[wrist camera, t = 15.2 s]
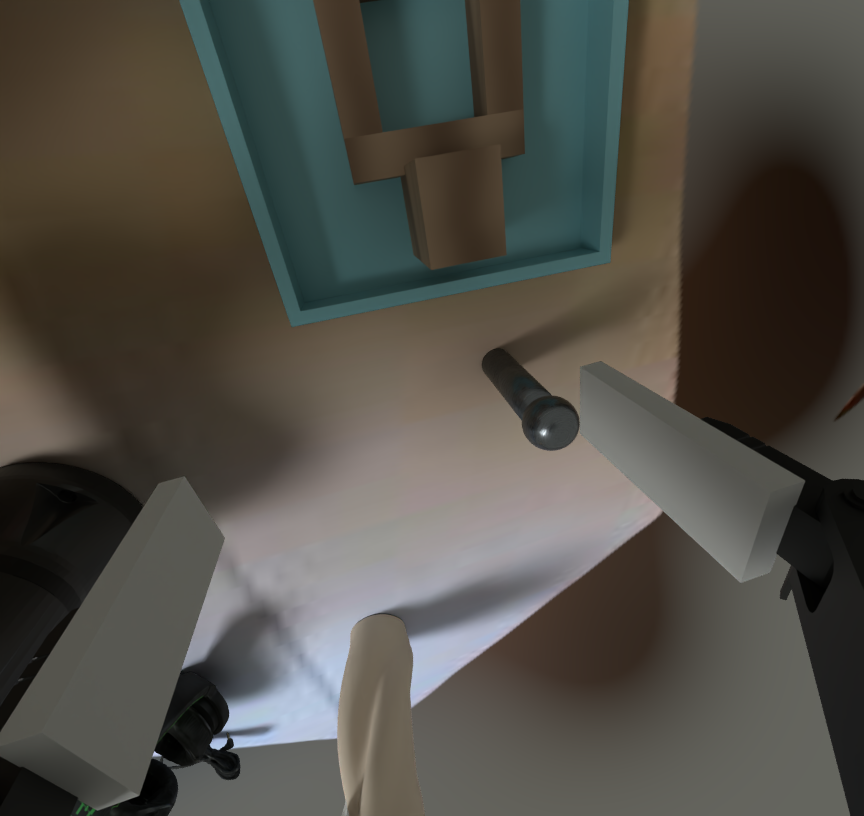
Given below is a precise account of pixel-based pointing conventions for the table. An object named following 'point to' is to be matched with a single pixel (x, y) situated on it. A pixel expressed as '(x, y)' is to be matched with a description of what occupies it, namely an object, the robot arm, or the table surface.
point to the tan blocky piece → (436, 133)
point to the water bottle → (378, 722)
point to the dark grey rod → (532, 403)
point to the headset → (179, 749)
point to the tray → (400, 109)
